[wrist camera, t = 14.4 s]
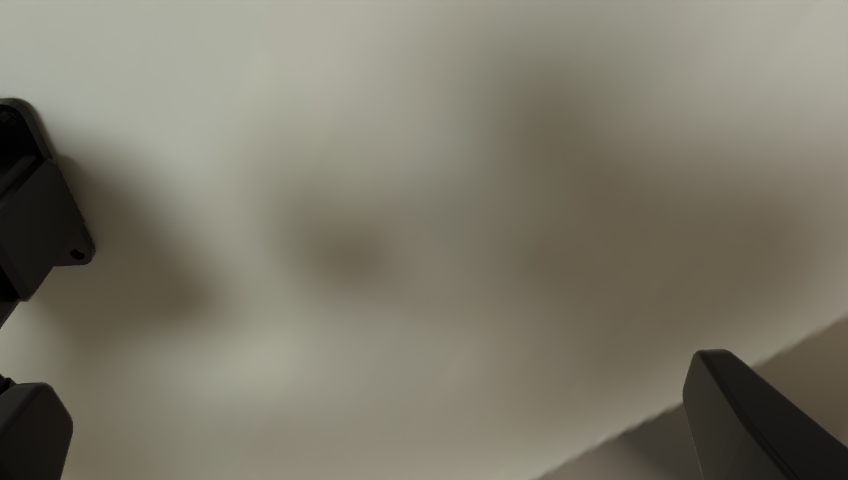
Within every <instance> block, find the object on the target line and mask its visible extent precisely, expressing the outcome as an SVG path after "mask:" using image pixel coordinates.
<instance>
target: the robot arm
mask: <svg viewBox="0 0 848 480" xmlns="http://www.w3.org/2000/svg"><path fill="white" fill-rule="evenodd" d="M7 112H10V113H12V114H13V115H14V116H15V117H16V118H17V120H14V119H12V118H10V117H9V116H8V114H7ZM76 249H78V250H80V251H82V252H83V253H81V252H79V251H77V250H76ZM95 253H96V248H95V246H94V244H93V242H92V239H91V237H90V235H89V233H88V231H87V229H86V227H85V225H84V219H83V217H82V215H81V213H80V211H79V209H78V207H77V205H76V203H75V201H74V199H73V196H72V194H71V192H70V190H69V188H68V186H67V184H66V182H65V180H64V178H63V176H62V174H61V171H60V169H59V167H58V165H57V164H56V163H55V162H54V160H53V158H52V156H51V154H50V152H49V150H48V148H47V146H46V144H45V142H44V140H43V138H42V136H41V133H40V131H39V129H38V127H37V125H36V123H35V121H34V119H33V117H32V115H31V113H30V111H29V110H28V108H27V107H26V106H25V105H24V104H22V103H21V102H19V101H17V100H14V99H0V328H1V327H2V326H3V324H4V323H5V321H6V320H7V319H8V317H9V316H10V315H11V313H12V312H13V310H14V309H15V308H16V306H17V305H18V304H19V302H27V301H29V300H30V299H31V298H32V296H33V295H34V293H35V292H36V290H37V289H38V288H39V286H40V285H41V283H42V282H43V281H44V279H45V278H46V276H47V275H48V274H49V272H50V271H51V269H52V268H53V267H54V266H72V265H85V264H88V263H89V262H90V261H91V260H92V258H93V257H94V255H95ZM683 403H684V408H685V412H686V415H687V419H688V423H689V427H690V431H691V434H692V438H693V442H694V446H695V449H696V453H697V457H698V461H699V465H700V469H701V473H702V476H703V480H848V447H847V446H846V445H844V444H843V443H842V442H841V441H840V440H838V439H837V438H836V437H835V436H834V435H832V434H831V433H830V432H829V431H827V430H826V429H825V428H824V427H823V426H821V425H820V424H819V423H818V422H816V421H815V420H814V419H813V418H811V417H810V416H809V415H808V414H807V413H805V412H804V411H803V410H802V409H800V408H799V407H798V406H797V405H796V404H794V403H793V402H792V401H791V400H789V399H788V398H787V397H786V396H784V395H783V394H782V393H781V392H780V391H778V390H777V389H776V388H775V387H773V386H772V385H771V384H770V383H768V382H767V381H766V380H765V379H764V378H762V377H761V376H760V375H759V374H758V373H756V372H755V371H754V370H753V369H751V368H750V367H749V366H748V365H746V364H745V363H744V362H743V361H742V360H740V359H739V358H738V357H737V356H735V355H734V354H733V353H731V352H730V351H728V350H725V349H713V350H699V351H697V352H696V353H695V354H694V355H693V358H692V360H691V364H690V367H689V370H688V374H687V377H686V380H685V384H684V387H683ZM72 434H73V421H72V418H71V416H70V414H69V412H68V411H67V409H66V408H65V406H64V405H63V403H62V402H61V400H60V398H59V397H58V395H57V394H56V392H55V391H54V389H53V388H52V387H51V386H50V385H49V384H47V383H43V382H40V383H22V384H16V383H15V382H14V381H13V380H12V379H11V378H4V377H3V376H2V375H1V374H0V480H60V479H61V475H62V472H63V468H64V464H65V461H66V457H67V453H68V449H69V446H70V442H71V438H72Z"/></svg>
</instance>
